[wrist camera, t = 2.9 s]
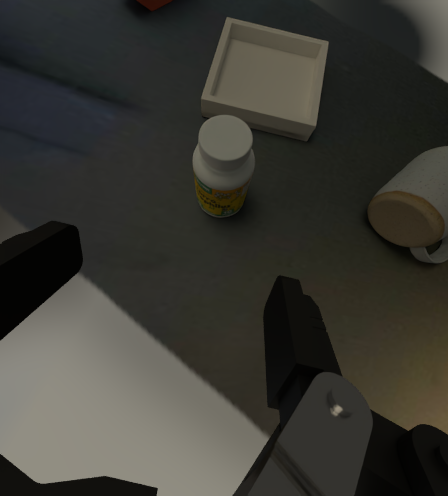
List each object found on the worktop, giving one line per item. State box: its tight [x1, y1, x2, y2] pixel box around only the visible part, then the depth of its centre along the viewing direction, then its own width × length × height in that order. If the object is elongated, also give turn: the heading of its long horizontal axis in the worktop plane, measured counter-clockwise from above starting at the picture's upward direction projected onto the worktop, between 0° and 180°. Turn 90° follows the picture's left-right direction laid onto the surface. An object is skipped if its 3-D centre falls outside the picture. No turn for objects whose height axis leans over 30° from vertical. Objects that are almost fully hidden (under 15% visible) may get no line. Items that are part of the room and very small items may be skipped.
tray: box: [201, 17, 328, 141], centre depth 28 cm, size 14×14×2 cm
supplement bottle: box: [193, 115, 255, 218], centre depth 21 cm, size 5×5×10 cm
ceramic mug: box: [367, 146, 448, 263], centre depth 22 cm, size 11×8×8 cm
